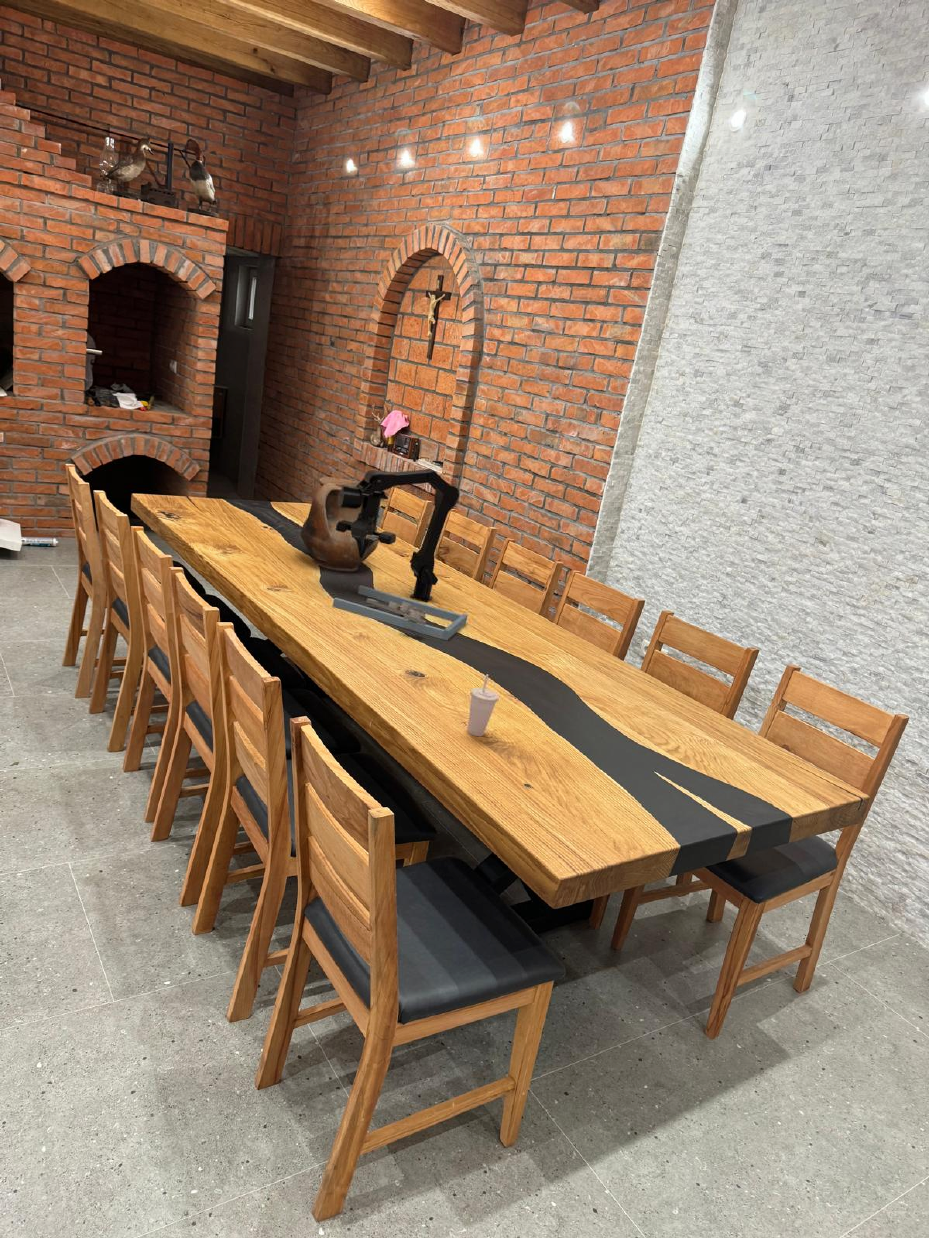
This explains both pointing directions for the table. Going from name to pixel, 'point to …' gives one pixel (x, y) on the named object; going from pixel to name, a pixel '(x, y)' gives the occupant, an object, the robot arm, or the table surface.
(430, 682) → the table surface
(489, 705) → the smoothie
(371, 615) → the track
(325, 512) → the jug
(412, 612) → the pulley system
